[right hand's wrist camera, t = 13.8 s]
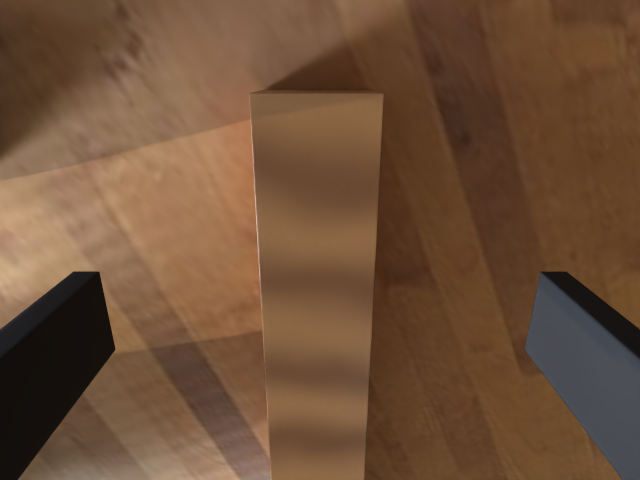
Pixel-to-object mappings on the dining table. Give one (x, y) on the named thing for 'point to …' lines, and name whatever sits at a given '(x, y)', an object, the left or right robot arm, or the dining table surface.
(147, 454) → the dining table surface
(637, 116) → the dining table surface
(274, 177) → the thick board
